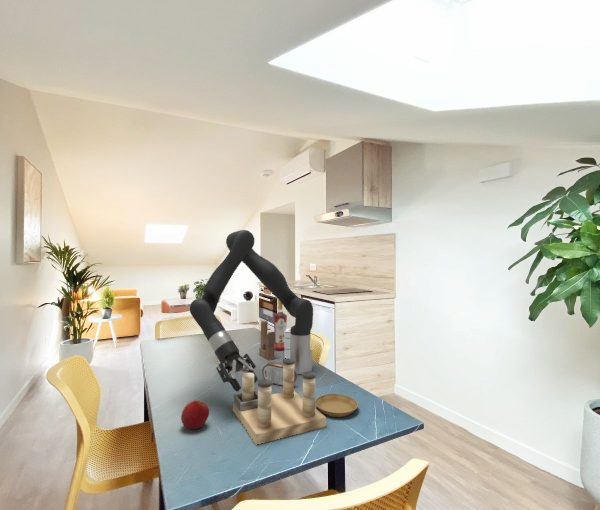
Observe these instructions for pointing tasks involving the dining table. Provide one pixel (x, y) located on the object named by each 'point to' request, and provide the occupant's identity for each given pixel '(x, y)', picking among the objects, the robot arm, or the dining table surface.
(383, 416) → the dining table surface
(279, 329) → the liquor
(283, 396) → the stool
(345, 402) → the plant saucer
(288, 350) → the syrup box
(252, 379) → the birch leg
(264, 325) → the wooden block
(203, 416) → the apple
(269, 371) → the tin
